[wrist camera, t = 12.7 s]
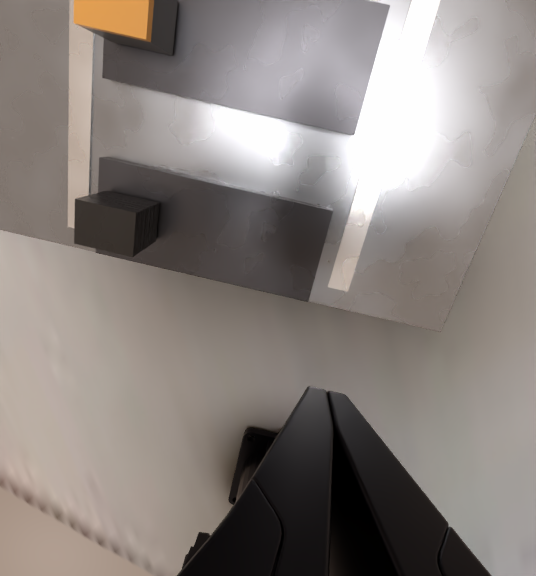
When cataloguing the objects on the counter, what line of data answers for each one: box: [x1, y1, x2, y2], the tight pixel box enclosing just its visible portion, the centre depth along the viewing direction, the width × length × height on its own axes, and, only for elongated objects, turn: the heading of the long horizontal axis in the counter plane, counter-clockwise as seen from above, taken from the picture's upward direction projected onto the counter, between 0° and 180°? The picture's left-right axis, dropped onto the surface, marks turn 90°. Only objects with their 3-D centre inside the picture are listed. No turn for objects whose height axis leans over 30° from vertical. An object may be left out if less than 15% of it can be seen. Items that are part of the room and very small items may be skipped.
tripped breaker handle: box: [74, 0, 178, 56], centre depth 13 cm, size 2×2×3 cm
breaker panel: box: [0, 0, 536, 332], centre depth 14 cm, size 20×24×5 cm
